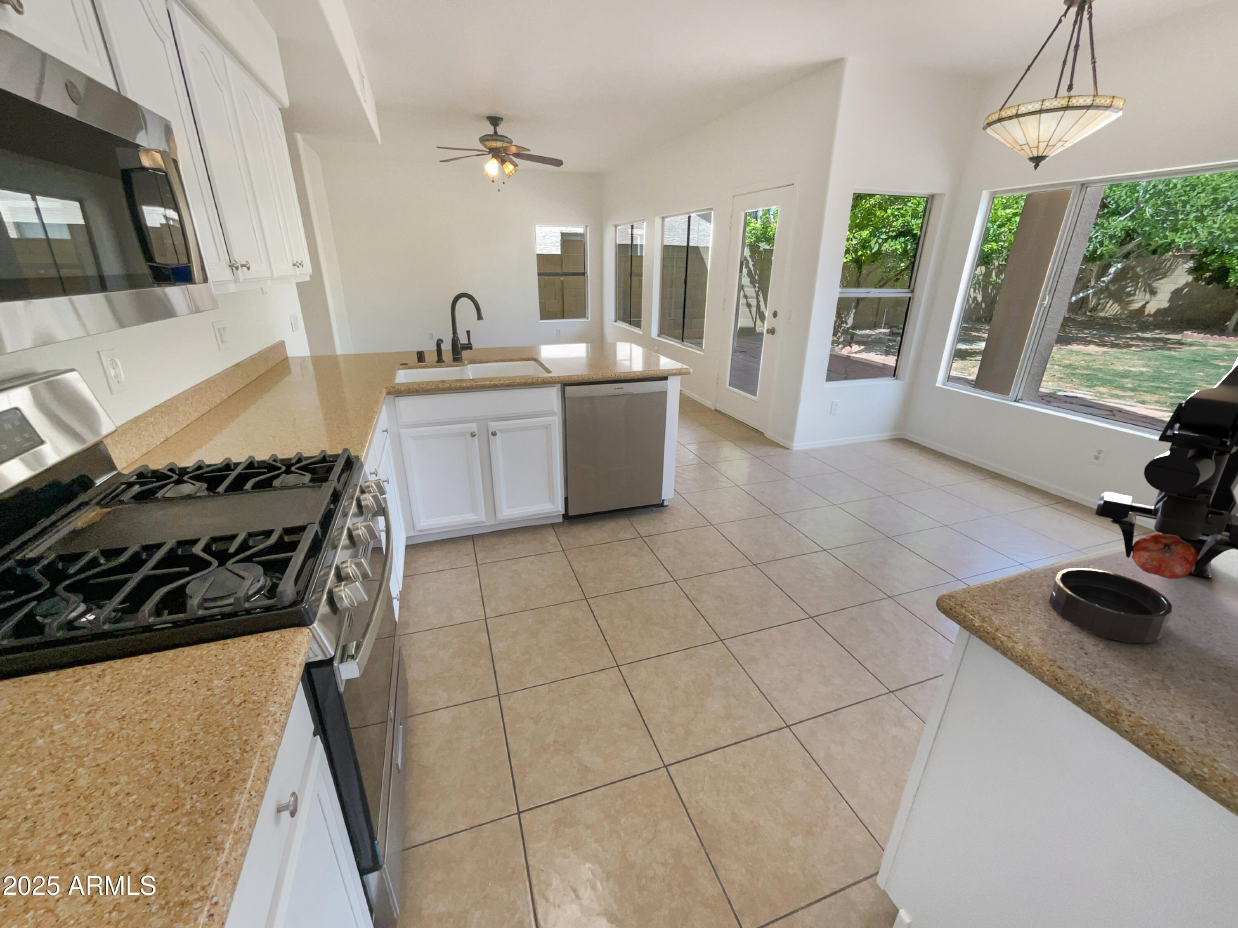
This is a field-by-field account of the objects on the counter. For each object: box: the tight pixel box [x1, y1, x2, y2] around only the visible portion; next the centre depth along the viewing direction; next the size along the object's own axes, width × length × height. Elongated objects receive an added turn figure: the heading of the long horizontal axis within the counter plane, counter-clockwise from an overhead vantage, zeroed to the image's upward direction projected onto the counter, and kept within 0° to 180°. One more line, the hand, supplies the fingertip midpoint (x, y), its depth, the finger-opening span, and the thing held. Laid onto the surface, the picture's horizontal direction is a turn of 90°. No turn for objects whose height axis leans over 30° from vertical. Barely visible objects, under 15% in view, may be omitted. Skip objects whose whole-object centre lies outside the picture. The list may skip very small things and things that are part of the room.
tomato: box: [1131, 531, 1198, 580], centre depth 84 cm, size 7×7×10 cm
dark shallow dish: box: [1048, 567, 1173, 644], centre depth 80 cm, size 13×13×5 cm
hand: (1159, 564), depth 85 cm, fingers closed on tomato, 7 cm apart
